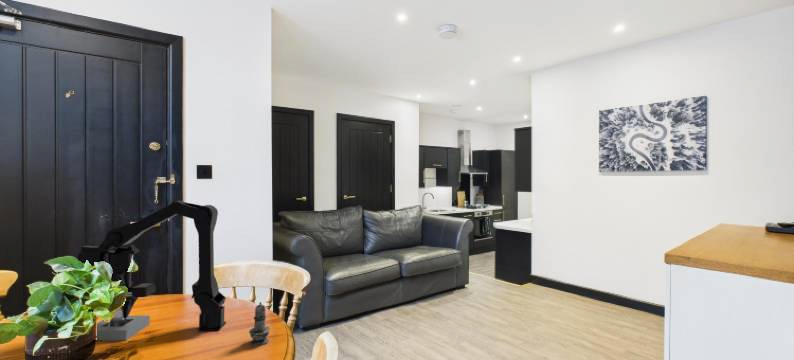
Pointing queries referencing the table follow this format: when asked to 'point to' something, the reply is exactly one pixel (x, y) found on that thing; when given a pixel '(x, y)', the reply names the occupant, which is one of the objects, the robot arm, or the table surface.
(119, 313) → the grey metallic cylinder
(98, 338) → the socket block
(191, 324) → the table surface
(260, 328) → the grey tower figurine
